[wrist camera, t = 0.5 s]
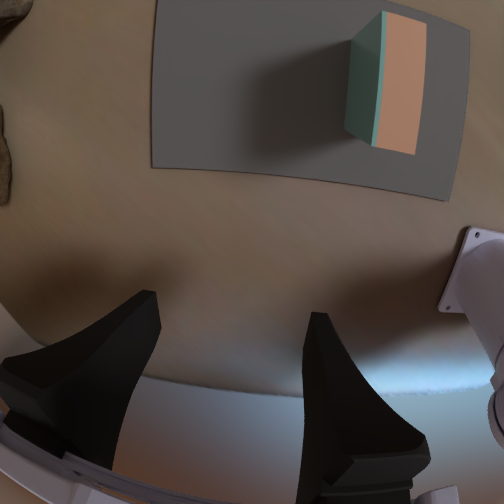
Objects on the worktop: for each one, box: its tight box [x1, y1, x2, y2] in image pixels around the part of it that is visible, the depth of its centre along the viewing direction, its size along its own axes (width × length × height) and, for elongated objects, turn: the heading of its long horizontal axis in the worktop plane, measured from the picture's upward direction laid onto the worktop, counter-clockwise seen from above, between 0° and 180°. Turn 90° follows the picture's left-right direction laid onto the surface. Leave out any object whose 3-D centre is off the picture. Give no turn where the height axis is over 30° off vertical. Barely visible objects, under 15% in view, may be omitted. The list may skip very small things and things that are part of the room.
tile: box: [344, 11, 426, 155], centre depth 13 cm, size 2×6×7 cm, turn 177°
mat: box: [152, 0, 470, 202], centre depth 16 cm, size 21×13×1 cm, turn 87°
